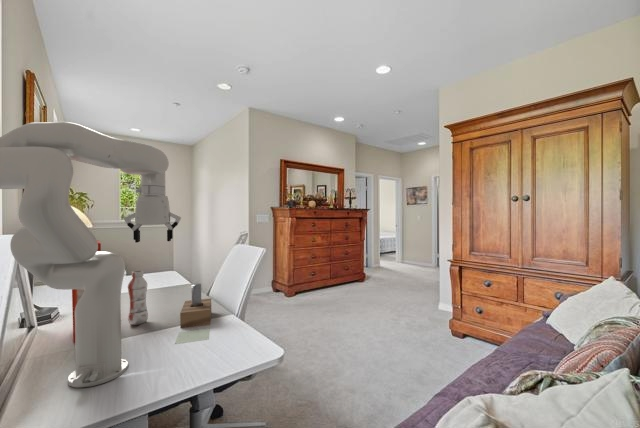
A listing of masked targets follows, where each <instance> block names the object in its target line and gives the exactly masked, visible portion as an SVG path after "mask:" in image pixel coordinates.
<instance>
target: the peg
mask: <svg viewBox="0 0 640 428" xmlns="http://www.w3.org/2000/svg"><path fill="white" fill-rule="evenodd" d="M190 286H191V300H192V307H197V306H202V304H201V299H202V283H192V284H191V285H190Z"/></svg>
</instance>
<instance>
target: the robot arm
mask: <svg viewBox="0 0 640 428" xmlns="http://www.w3.org/2000/svg"><path fill="white" fill-rule="evenodd" d="M72 161H76V162H80V163H84V164H88V165H92V166H97V167H100V168H104V169H105V168H106V169H115V170H118V169H119V170H120V171H122V172H123V173H125V174H126V175H132V176H133V175H136V176H137V175H139V176H140V186H139V188H135V193H138V194H140V195H137V198H136V203H135V211H134V213H132V214H129V215H128V216H125V217H123V220H124V222H125V223H126V226H127V227H128V228H130V229H131V230H132V231H133V241H135V243H139V242H140V243H141V230H140V228H141V227H142V226H147V225H148V226H151V225H152V226H153V225H154V226H155V225H156V226H157V225H164V226H165V227H167V230H166V241H167V242H172V241H171V240H172V239H173V237H174V235H173V233H174V231H173V230H174V229H175V228H176V227H177V226H178V225H179V223H180V221H181V219H182V217H181V216H179V215H177V214H176V213H172V212H171V211H170V210H171V209H170V201H169V198H168V196H167V195H166V171H168V168H169V159H168V156H167V155H166V154H165V152H163V150H161V149H159V148H156V147H154V146H152V145H148V144H145V143H141V142H140V143H139V142H135V141H132V140H131V141H129V140H125V139H121V138H116V137H111V136H110V135H107V134H104V133H101V132H98V131H96V130H94V129H91V128H89V127H86V126H83V125H81V124H78V123H75V122H69V121H50V122H49V121H47V122H45V121H42V122H39V121H38V122H29V123H25V124H23V125H21V126H17V127H16V128H13V129H12V130H10V131H9V132H6V133H5V134H3V135H1V136H0V190H23V191H22V192H23V193H22V195H21V196H22V198H21V199H20V204H19V206H18V207H19V208H18V213H17V215H18V219H19V221H20V223H21V224H22V226H23V227H21V228H19V229H18V230H16V232H14V233H13V235H12V237H11V239H10V245H9V246H10V251H11V254H12V256H13V258H14V259H15V261H16V262H17V263H18V264H19V265H20V266H22V267H23V268H24V269H25V270H26V271H28V272H29V273H30V275H33V276H34V277H35V278H37V280H39V281H40V282H41V283H42V284H44V285H45V286H47V287H49V288H51V289H54V290H72V289H80V290H84V293H83V295H82V296H81V298H80V299H79V301H78V303H77V305H76V308H75V343H74V345H75V346H74V347H75V348H74V350H75V353H74V354H75V370H74V371H72V372H71V373H70V374H69V375H68V377H67V381H66V382H67V385H68V386H69V387H72V388H79V389H80V388H90V387H94V386H98V385H101V384H104V383H108V382H110V381H112V380H114V379H117V378H118V377H120V376H122V374H123V373H125V372H126V371H127V370H128V368H129V361H128V360H127V359H125V358H122V308H121V307H122V306H121V304H122V287H123V282H124V275H125V272H126V264H125V261H124V259H123V258H122V256H120V255H119V254H118V253H114V252H110V251H101V252H97V250H98V242H97V238H96V236H95V234H94V233H93V232H92V230H90V228H89V227H88V226H87V225H86V223H85V222H84V221H83V220H82V218H80V216H79V215H78V213H76V212H75V210H74V209H73V208H72V205H71V204H70V198H69V197H70V190H71V183H72V180H73V176H74V166H73V162H72ZM171 218H173V219H175V220H174V222H173V223H170V222H171ZM132 219H134V221H135V224H134V223H133V222H132Z"/></svg>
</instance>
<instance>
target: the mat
mask: <svg viewBox="0 0 640 428" xmlns="http://www.w3.org/2000/svg"><path fill="white" fill-rule="evenodd" d="M210 332H211V331H210V328H202V329H201V328H199V329H194V330H185V331H179V332H178V334H177V337H176V339H175V342H174V345H178V344H184V343H194V342H200V341H207V340H209V339H210V338H209V337H210Z"/></svg>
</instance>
